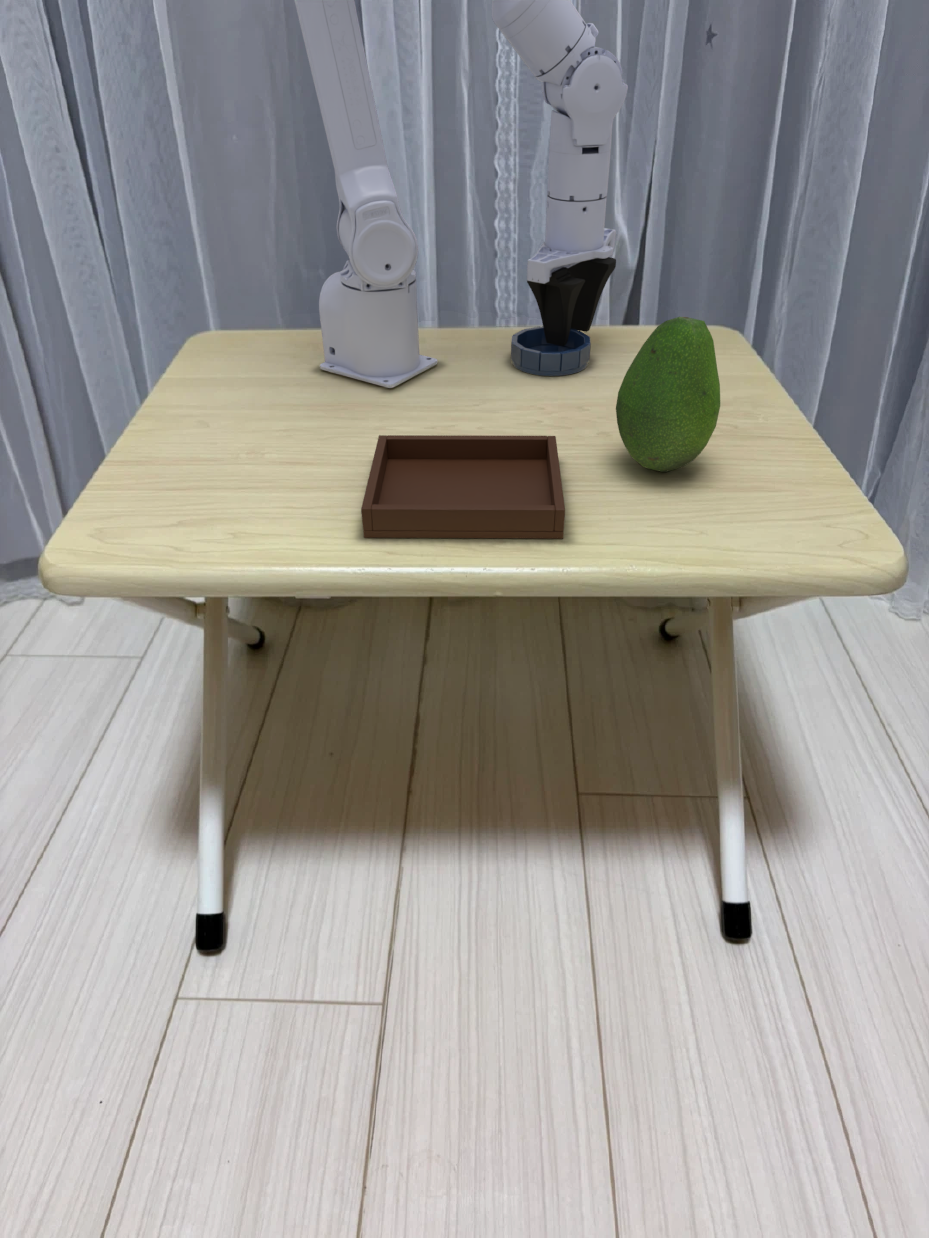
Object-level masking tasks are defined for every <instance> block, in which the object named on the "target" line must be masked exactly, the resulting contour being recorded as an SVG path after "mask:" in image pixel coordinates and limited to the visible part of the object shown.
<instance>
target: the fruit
mask: <svg viewBox="0 0 929 1238" xmlns="http://www.w3.org/2000/svg"><path fill="white" fill-rule="evenodd" d="M714 342H715V341H714V338H713V336H712V334H711V331H710V330H709V328H708V326H707V323H706V322H705V320H702V319H697V318H693V317H688V316H676V317H673V318H670V319H667V320H665V321H664V322H662V323H661V324H659V325H657V327H655V329H654V330H653V331H652V332H651V333H650V335H648V338H647V339H646V340H645V342H644V343H643V344H642V345H641V347H640V349H639V351H638V352H637V354H636V355H635V357H634V358H633V360H632V361H631V363H630V365H629V367H628V369H627V370H626V372H625V375H624V377H623V379H622V382H621V384H620V386H619V390H618V391H617V398H616V404H615V415H616V423H617V429H618V433H619V436H620V438H621V441H622V444H623V446H624V447H625V449H626V451H627V452H628V454H629V455H630V457H631V458H632V459H633V460H634V461H636V462H637V463H638V464H639V465H641V466H642V468H646V469H649V470H653V471H657V472H662V473H666V472H670V471H673V470H677V469H680V468H683V467H685V466H687V465H688V464H690V463H691V462H693V461H694V460H695V459H696V458H698V456H700V454H701V453H702V452H703V451H704V449H705V448H706V446H707V445H708V443H709V441H710V439H711V437H712V435H713V433H714V431H715V429H716V428H717V423H718V419H719V414H720V409H721V384H720V382H721V381H720V376H719V371H718V364H717V363H718V362H717V355H716V350H715V343H714Z"/></svg>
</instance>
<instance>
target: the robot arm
mask: <svg viewBox="0 0 929 1238" xmlns="http://www.w3.org/2000/svg"><path fill="white" fill-rule="evenodd" d="M293 1H294V5H295V9H296V14H297V18H298V22H299V27H300V30H301V34H302V39H303V43H304V47H305V51H306V56H307V60H308V64H309V68H310V74H311V77H312V81H313V85H314V88H315V94H316V98H317V102H318V107H319V111H320V115H321V118H322V123H323V127H324V131H325V135H326V140H327V144H328V148H329V153H330V157H331V161H332V166H333V169H334V177H335V188H336V192H337V196H338V204H339V208H338V210H339V211H338V215H337V220H336V235H337V239H338V241H339V244H340V246H341V248H342V249H343V251H344V252H345V253H346V254H347V257H348V258H349V259H347V260H346V262H345V264H344V265H343V269H342V270H341V271H336V272H334V273H332V274H331V275H330V276H329V277H327V279H325V281H324V283H323V285H322V287H321V289H320V293H319V298H318V312H319V320H320V330H321V340H322V348H323V356H324V362H322V363H320V364H319V369H320V370H322V371H326V372H329V373H333V374H336V375H340V376H344V377H348V378H351V379H355V380H358V381H361V382H365V383H368V384H369V383H370V384H371V385H372V384H373V385H376V386H379V387H383V388H387V389H393V388H396V387H397V386H399V385H401V384H402V383H405V382H406V381H408V380H411V379H412V378H414V377H416V376H417V375H419V374H421V373H423V372H425V371H427V370H429V369H431V368H433V367H435V366H437V365H438V359H437V358H435V357H431V356H426V355H424V354H421V353H420V335H419V312H418V310H419V309H418V289H417V287H418V286H417V271H416V270H415V267H416V264H417V261H418V258H419V257H418V256H419V244H418V239H417V235H416V234H415V232H414V229H413V228H412V227H411V225H410V224H409V223H408V221H407V220H406V219H405V217H404V215H403V213H402V211H401V207H400V201H399V197H398V193H397V190H396V187H395V184H394V181H393V178H392V176H391V172H390V168H389V166H388V160H387V155H386V152H385V151H386V150H385V146H384V145H385V144H384V142H383V141H384V140H383V135H382V131H381V125H380V121H379V116H378V112H377V111H378V110H377V107H376V100H375V96H374V91H373V86H372V81H371V76H370V72H369V66H368V61H367V56H366V52H365V47H364V42H363V41H364V40H363V36H362V33H361V32H362V31H361V27H360V22H359V17H358V11H357V7H356V6H357V5H356V2H355V0H293ZM491 19H492V22H493V23H494V25H495V26H496V27H497V28H498V30H499V32H501V34H502V36H504V38H505V39H506V41H508V43H509V45H510V46H511V47H512V49H514V51H515V53H516V55H518V56H519V58H520V59H521V60H522V62H523V63H524V65H526V67H527V69H528V70H529V71H530V72H531V74H532V75H533V76H534V78H535V79H536V80H537V81H538V82H540V84H541V86H540V87H541V95H542V97H543V100H544V102H545V103H546V104H547V105H549V106H551V108H552V109H553V110H552V109H551V113H550V136H549V141H548V142H549V143H548V166H547V167H548V168H547V188H546V189H547V190H546V191H547V192H546V211H545V232H544V233H545V234H544V236H545V237H544V241H543V242H542V244H541V245H540V247H539V249H538V250H537V251H536V253H535V254H534V255H533V256H532V257H530V258H528V259H527V260H526V261H527V263H526V284H527V285H528V286H529V289H530V290H531V293H532V294H533V297H534V299H535V301H536V304H537V307H538V310H539V314H540V318H541V323H542V326H543V328H544V334H545V338H546V342H547V343H550V344H554V345H559V346H564V345H566V344H567V341H568V338H569V333H570V329H575V330H578V331H581V332H583V333H584V332H585V333H588V332H589V331H591V327H592V324H593V321H594V319H595V315H596V312H597V308H598V305H599V302H600V300H601V299H600V298H601V296H602V293H603V291H604V289H605V286H606V285H607V282H608V280H609V279H610V278H611V275H612V274H613V272H614V271H615V269H616V267H617V259H616V258H615V257H611V256H613V255H614V250H615V245H616V236H617V235H616V233H617V230H616V229H613V228H607V227H605V225H606V213H607V199H608V191H609V179H610V178H609V177H610V165H611V155H612V154H611V153H612V136H613V125H614V124H613V123H614V119H615V118H616V116H617V114H618V113H619V112H620V110H621V109H622V107H623V105H624V104H625V100H626V97H627V94H628V90H629V86H628V84H626V83H625V79H624V78H623V75H624V70H623V67H622V64H621V62H620V61H619V59H618V58H617V57H616V55H615V54H614V53H613V52H611V51H610V50H608V49H605V48H603V47H598V46H596V41H597V37H598V35H599V33H600V32H599V30H598V29H597V27H596V25H595V24H594V23H593V22H587V23H586V21H585V20H584V18H583V16H582V15H581V14H580V13H579V11H578V10H577V8H576V6H575V5H574V3H573V1H572V0H491Z"/></svg>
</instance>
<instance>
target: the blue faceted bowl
mask: <svg viewBox="0 0 929 1238" xmlns="http://www.w3.org/2000/svg"><path fill="white" fill-rule="evenodd" d="M591 345H592V343H591V337H590V335H588V334H586V333H584V331H579V330H575V329H570V333H569V338H568V341H567V344H566V345H564V346H559V345H554V344H550V343H547V342H546V338H545V334H544V328H543V325H542V326H541V325H540V326H534V327H529V328H524V329H521V330H519V331H518V332H515V333H513V334H512V335H511V341H510V362H511V365H512V366H513V368H515V369H517V370H518V371H521V372H523V373H526V374H530V375H535V376H542V377H543V376H544V377H561V376H569V375H572V374H576V373H579V372H582V371H584V370H585V369H586V368H587V367H588V366H589V362H590V357H591Z"/></svg>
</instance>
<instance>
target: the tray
mask: <svg viewBox="0 0 929 1238" xmlns="http://www.w3.org/2000/svg"><path fill="white" fill-rule="evenodd" d="M362 499H363V500H362V505H361V508H360V511H361V522H362V523H361V524H362V534H363V538H364V539H365V538H367V539H370V538H371V539H372V538H374V539H375V538H376V539H377V538H382V539H384V538H385V539H386V538H387V539H390V538H391V539H392V538H394V539H395V538H396V539H397V538H398V539H401V538H402V539H549V540H550V539H556V540H557V539H559V540H560V539H564V533H565V518H566V506H565V505H566V504H565V500H564V490H563V483H562V474H561V467H560V460H559V452H558V444H557V436H556V435H465V434H464V435H460V434H459V435H450V434H449V435H447V434H446V435H444V434H443V435H442V434H441V435H439V434H438V435H433V434H430V435H428V434H427V435H426V434H425V435H423V434H422V435H417V434H414V435H413V434H412V435H411V434H409V435H408V434H407V435H405V434H404V435H403V434H402V435H400V434H395V435H394V434H393V435H392V434H390V435H389V434H387V435H386V434H383V435H381V434H379V435H378V438H377V442H376V446H375V449H374V453H373V458H372V463H371V467H370V471H369V474H368V479H367V483H366V487H365V492H364V496H363V498H362Z"/></svg>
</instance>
